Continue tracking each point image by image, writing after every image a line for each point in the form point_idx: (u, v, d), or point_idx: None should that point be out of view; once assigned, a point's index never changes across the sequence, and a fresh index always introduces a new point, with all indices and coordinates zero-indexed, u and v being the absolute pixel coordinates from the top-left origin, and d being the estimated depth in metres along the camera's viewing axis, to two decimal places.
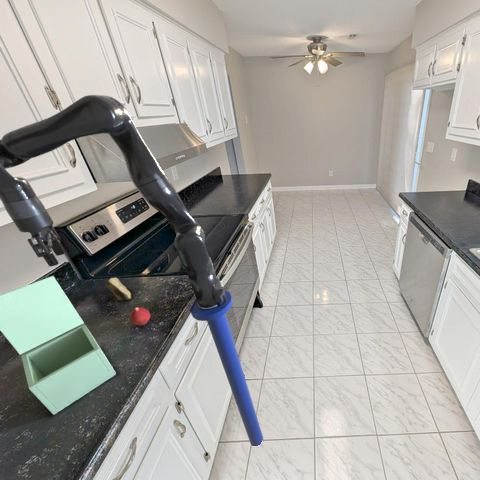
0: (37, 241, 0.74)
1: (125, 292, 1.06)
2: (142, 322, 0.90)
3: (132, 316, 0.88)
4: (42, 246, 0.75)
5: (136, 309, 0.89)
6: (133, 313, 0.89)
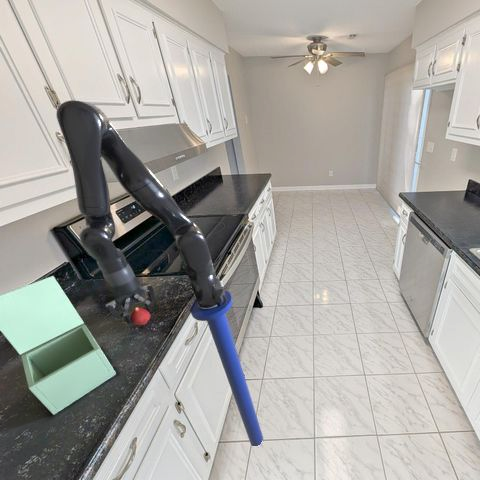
0: None
1: None
2: (142, 322, 0.90)
3: (132, 316, 0.88)
4: None
5: (136, 309, 0.89)
6: (133, 313, 0.89)
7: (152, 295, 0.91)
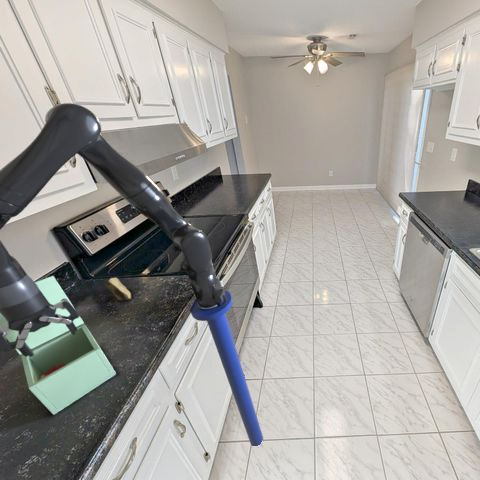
0: None
1: (125, 292, 1.06)
2: None
3: None
4: None
5: None
6: None
7: (73, 312, 0.69)
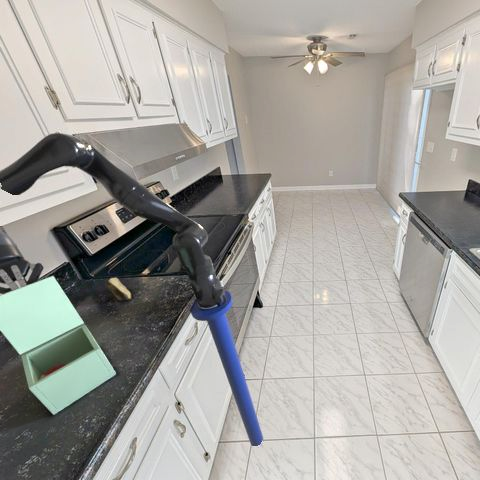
0: None
1: (125, 292, 1.06)
2: None
3: None
4: None
5: None
6: None
7: (33, 275, 0.72)
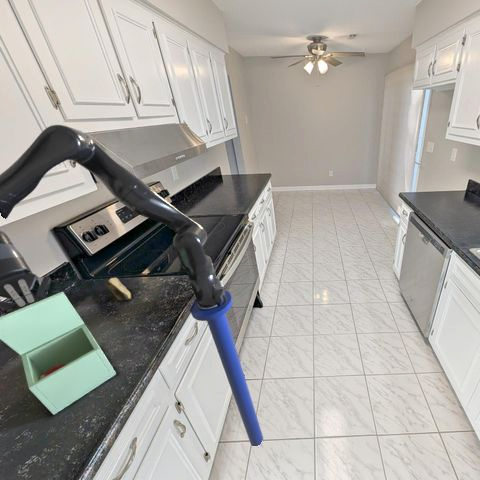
0: None
1: (125, 292, 1.06)
2: None
3: None
4: None
5: None
6: None
7: (41, 290, 0.69)
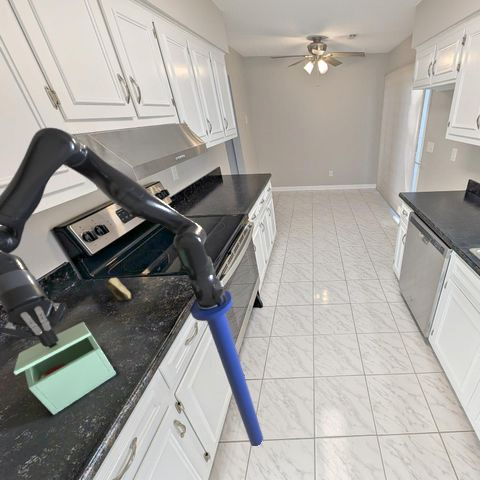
0: (4, 333, 0.62)
1: (125, 292, 1.06)
2: None
3: None
4: (13, 335, 0.62)
5: None
6: None
7: (57, 316, 0.68)
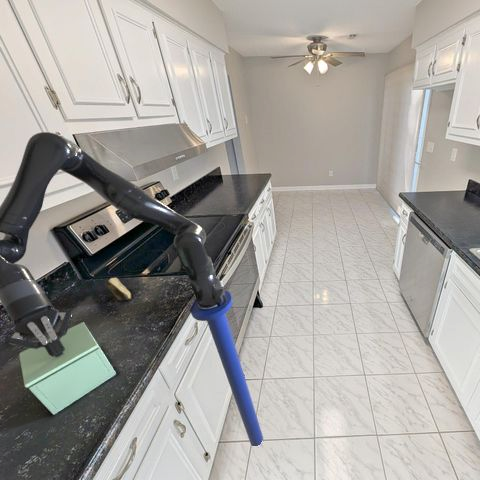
0: (11, 343, 0.62)
1: (125, 292, 1.06)
2: None
3: None
4: (20, 345, 0.63)
5: None
6: None
7: (63, 326, 0.68)
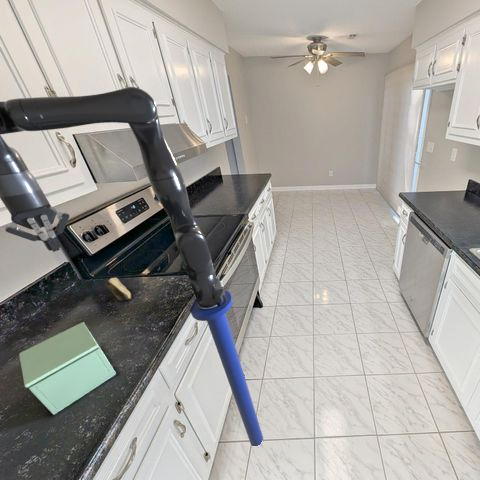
0: None
1: (125, 292, 1.06)
2: None
3: None
4: None
5: None
6: None
7: (62, 227, 0.71)
